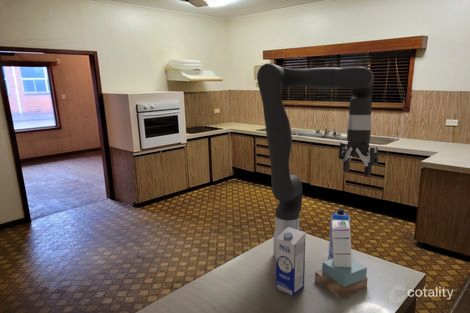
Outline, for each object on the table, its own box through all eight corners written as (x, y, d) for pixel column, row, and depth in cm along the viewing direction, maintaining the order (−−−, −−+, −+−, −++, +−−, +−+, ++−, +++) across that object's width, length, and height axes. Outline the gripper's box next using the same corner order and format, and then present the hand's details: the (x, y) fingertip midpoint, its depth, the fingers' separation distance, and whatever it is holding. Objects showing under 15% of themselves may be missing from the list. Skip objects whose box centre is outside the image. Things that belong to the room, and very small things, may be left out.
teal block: (322, 272, 114) (322, 261, 113) (343, 265, 118) (343, 254, 118) (344, 287, 105) (344, 275, 104) (366, 278, 110) (366, 267, 109)
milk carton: (304, 287, 111) (306, 231, 107) (293, 296, 106) (294, 238, 102) (286, 280, 116) (287, 226, 112) (275, 288, 111) (276, 232, 107)
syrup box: (352, 268, 108) (351, 227, 105) (333, 267, 110) (332, 227, 106) (350, 258, 114) (349, 219, 110) (332, 257, 115) (331, 219, 111)
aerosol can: (339, 265, 125) (342, 215, 121) (323, 256, 132) (325, 209, 128) (353, 259, 129) (356, 210, 126) (337, 251, 136) (339, 205, 132)
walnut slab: (314, 282, 115) (315, 272, 114) (338, 272, 121) (339, 262, 120) (341, 300, 105) (342, 289, 104) (366, 288, 111) (367, 277, 110)
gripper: (335, 127, 117) (333, 171, 120) (370, 130, 105) (367, 180, 108) (349, 125, 120) (347, 169, 123) (384, 128, 108) (381, 176, 111)
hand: (356, 174), depth 116 cm, fingers open, 8 cm apart
